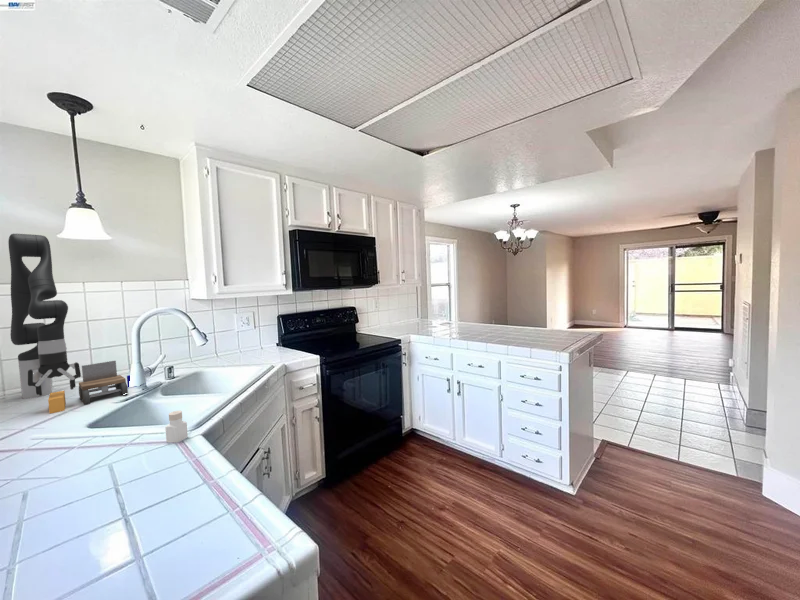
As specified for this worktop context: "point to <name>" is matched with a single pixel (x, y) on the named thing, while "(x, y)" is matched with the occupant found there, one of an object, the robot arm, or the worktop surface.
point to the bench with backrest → (100, 380)
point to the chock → (57, 402)
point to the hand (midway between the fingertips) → (56, 392)
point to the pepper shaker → (176, 428)
